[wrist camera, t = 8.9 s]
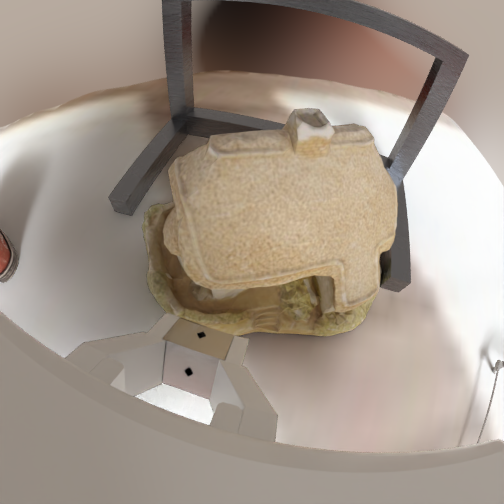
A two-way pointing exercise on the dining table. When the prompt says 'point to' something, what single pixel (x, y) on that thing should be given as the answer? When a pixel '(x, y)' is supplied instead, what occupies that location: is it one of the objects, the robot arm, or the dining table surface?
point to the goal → (217, 122)
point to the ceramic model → (274, 229)
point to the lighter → (7, 258)
